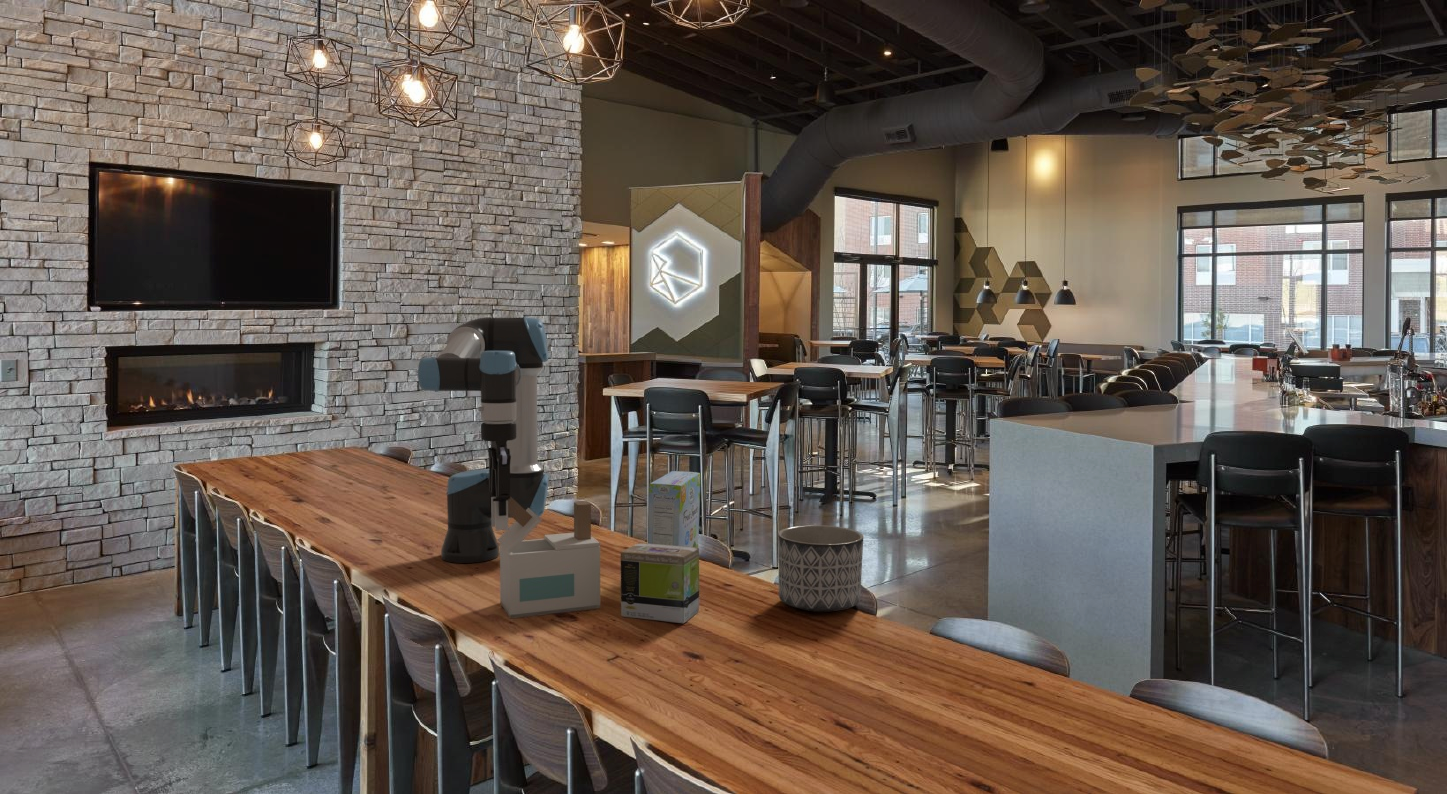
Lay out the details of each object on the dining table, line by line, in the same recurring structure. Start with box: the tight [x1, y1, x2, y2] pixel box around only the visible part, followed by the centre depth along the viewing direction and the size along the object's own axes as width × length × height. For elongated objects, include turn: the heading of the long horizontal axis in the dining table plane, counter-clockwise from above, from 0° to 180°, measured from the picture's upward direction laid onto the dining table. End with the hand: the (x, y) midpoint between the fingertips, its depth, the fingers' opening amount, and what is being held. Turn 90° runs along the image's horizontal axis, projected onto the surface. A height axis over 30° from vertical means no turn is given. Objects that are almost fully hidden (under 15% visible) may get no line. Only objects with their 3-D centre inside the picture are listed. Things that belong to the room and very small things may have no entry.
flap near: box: [497, 496, 543, 554], centre depth 206 cm, size 12×10×9 cm
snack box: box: [647, 470, 701, 548], centre depth 234 cm, size 22×9×26 cm, turn 168°
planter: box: [777, 524, 864, 613], centre depth 213 cm, size 19×19×16 cm
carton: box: [499, 500, 601, 620], centre depth 211 cm, size 12×20×23 cm, turn 114°
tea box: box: [620, 542, 700, 624], centre depth 206 cm, size 15×10×15 cm, turn 71°
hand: (499, 527), depth 206 cm, fingers closed on flap near, 4 cm apart
